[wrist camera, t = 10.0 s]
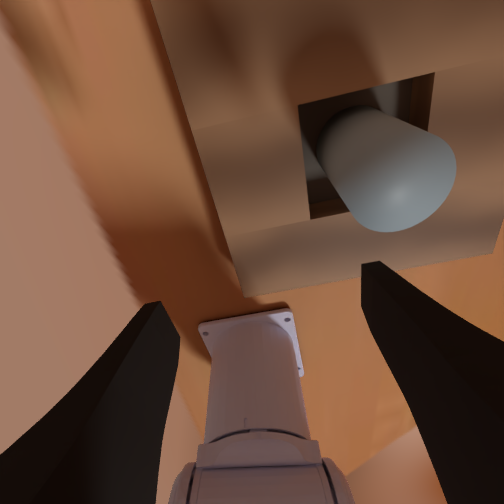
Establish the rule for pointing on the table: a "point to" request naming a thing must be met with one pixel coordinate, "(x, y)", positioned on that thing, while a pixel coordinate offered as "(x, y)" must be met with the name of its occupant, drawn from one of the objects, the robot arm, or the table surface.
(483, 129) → the walnut socket block
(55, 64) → the table surface
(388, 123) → the slate pin
